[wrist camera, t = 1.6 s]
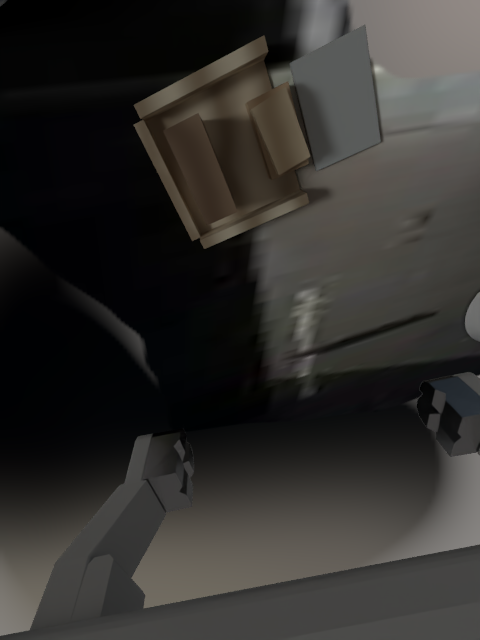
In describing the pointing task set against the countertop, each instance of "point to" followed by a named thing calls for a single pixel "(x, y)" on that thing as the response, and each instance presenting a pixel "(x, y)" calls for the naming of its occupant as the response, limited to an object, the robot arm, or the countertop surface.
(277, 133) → the offcut upper
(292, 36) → the countertop surface
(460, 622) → the robot arm
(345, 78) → the mat
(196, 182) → the dark brown wood block
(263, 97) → the offcut lower
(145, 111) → the tray
